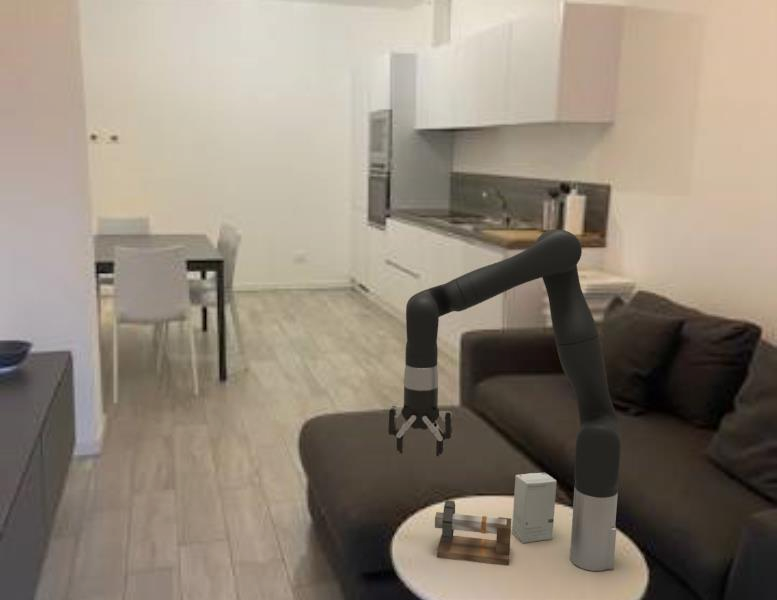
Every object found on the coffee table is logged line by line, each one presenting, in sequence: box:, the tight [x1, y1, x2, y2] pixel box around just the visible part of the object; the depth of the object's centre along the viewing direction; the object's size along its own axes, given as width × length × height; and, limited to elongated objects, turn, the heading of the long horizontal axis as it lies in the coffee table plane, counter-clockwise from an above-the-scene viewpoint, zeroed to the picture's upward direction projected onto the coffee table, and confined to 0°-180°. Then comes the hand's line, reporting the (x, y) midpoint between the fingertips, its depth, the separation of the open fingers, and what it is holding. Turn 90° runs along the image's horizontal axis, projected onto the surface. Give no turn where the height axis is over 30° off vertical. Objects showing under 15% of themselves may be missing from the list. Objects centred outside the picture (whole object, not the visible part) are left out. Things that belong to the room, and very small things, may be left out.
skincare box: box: [511, 472, 557, 544], centre depth 183 cm, size 8×6×15 cm
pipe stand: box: [434, 511, 512, 566], centre depth 175 cm, size 17×8×8 cm, turn 79°
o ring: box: [441, 499, 456, 542], centre depth 176 cm, size 2×9×9 cm, turn 169°
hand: (419, 453), depth 173 cm, fingers open, 8 cm apart
